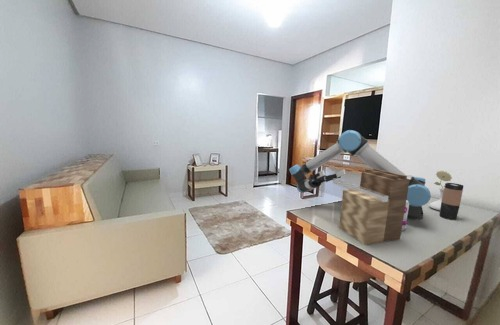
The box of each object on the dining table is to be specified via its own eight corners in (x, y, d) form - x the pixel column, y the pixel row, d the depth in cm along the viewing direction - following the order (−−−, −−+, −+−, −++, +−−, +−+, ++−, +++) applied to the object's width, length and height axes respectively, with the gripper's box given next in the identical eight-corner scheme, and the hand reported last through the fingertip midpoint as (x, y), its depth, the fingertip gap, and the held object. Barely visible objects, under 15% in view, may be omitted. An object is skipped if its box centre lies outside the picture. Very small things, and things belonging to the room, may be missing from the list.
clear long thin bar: (332, 183, 112) (333, 178, 111) (337, 182, 113) (337, 178, 112) (382, 202, 84) (382, 196, 83) (387, 201, 84) (388, 195, 84)
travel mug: (460, 221, 116) (467, 186, 112) (444, 219, 117) (451, 185, 114) (450, 215, 123) (456, 183, 120) (435, 214, 124) (441, 182, 121)
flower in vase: (457, 213, 127) (466, 174, 122) (439, 212, 127) (446, 173, 123) (438, 205, 139) (445, 169, 135) (421, 205, 140) (428, 169, 136)
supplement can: (405, 233, 99) (410, 203, 97) (385, 228, 103) (389, 199, 101) (404, 226, 106) (408, 199, 104) (385, 222, 110) (389, 195, 108)
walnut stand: (338, 227, 103) (345, 169, 98) (370, 223, 108) (377, 168, 104) (365, 244, 88) (374, 177, 83) (399, 239, 93) (410, 175, 89)
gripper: (330, 187, 134) (354, 177, 115) (296, 189, 126) (316, 179, 107) (328, 176, 136) (350, 165, 117) (294, 177, 129) (313, 166, 110)
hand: (334, 172), depth 112 cm, fingers open, 13 cm apart
